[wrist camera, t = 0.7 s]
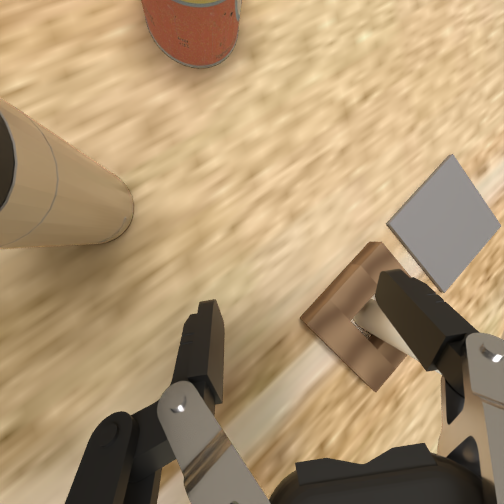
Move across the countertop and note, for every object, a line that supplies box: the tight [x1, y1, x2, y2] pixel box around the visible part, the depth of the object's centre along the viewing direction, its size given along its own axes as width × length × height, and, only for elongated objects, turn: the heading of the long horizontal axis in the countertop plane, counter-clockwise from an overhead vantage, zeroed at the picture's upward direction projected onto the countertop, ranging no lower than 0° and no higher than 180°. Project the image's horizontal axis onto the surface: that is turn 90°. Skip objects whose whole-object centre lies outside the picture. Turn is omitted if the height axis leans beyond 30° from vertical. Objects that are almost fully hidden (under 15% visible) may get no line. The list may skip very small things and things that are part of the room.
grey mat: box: [386, 154, 501, 293], centre depth 37 cm, size 16×16×1 cm
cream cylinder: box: [354, 299, 442, 375], centre depth 28 cm, size 5×5×14 cm
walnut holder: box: [300, 242, 411, 392], centre depth 34 cm, size 16×16×2 cm
